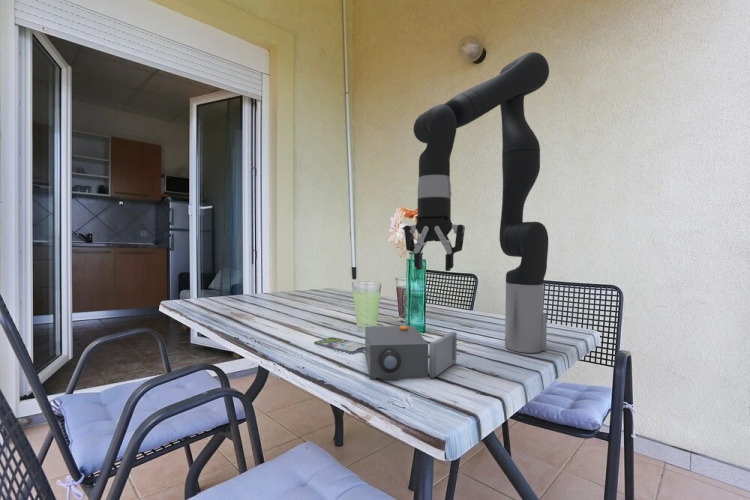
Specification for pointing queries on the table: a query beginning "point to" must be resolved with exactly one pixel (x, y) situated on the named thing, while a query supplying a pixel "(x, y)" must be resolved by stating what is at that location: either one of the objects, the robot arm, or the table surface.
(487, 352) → the table surface
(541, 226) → the robot arm
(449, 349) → the side door
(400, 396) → the table surface
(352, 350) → the smartphone
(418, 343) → the camera body
